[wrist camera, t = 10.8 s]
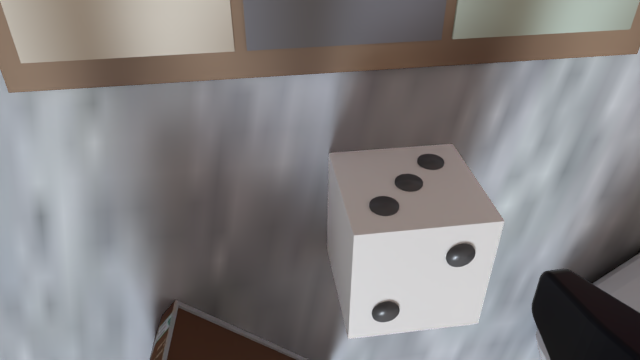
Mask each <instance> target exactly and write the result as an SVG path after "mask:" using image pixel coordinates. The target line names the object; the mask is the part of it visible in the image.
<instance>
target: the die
mask: <svg viewBox="0 0 640 360" xmlns="http://www.w3.org/2000/svg"><path fill="white" fill-rule="evenodd" d="M503 225H504V220H503V218H502V217H501V215H500V214H499V212H498V211H497V209H496V208H495V206H494V205H493V203H492V202H491V200H490V199H489V197H488V196H487V194H486V193H485V191H484V190H483V188H482V187H481V185H480V184H479V182H478V181H477V179H476V178H475V176H474V175H473V173H472V172H471V170H470V169H469V168H468V166H467V165H466V163H465V162H464V160H463V159H462V157H461V156H460V154H459V153H458V151H457V150H456V148H455V147H454V145H453V144H441V145H427V146H414V147H400V148H387V149H373V150H360V151H346V152H333V153H329V160H328V215H327V252H328V256H329V260H330V264H331V269H332V273H333V277H334V281H335V285H336V290H337V294H338V298H339V302H340V307H341V311H342V315H343V319H344V324H345V328H346V332H347V336H348V339H353V338H362V337H370V336H379V335H387V334H396V333H404V332H412V331H421V330H429V329H438V328H446V327H454V326H463V325H471V324H478V322H479V318H480V314H481V310H482V306H483V303H484V299H485V295H486V291H487V287H488V283H489V279H490V276H491V272H492V268H493V264H494V260H495V256H496V252H497V248H498V245H499V241H500V237H501V233H502V229H503Z"/></svg>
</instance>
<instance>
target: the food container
mask: <svg viewBox="0 0 640 360" xmlns="http://www.w3.org/2000/svg"><path fill="white" fill-rule="evenodd" d="M150 360H309V359H307V358H305V357H302V356H300V355H298V354H296V353H293V352H291V351H289V350H287V349H285V348H282V347H280V346H278V345H276V344H273V343H271V342H269V341H267V340H264V339H262V338H260V337H258V336H256V335H253V334H251V333H249V332H247V331H244V330H242V329H240V328H238V327H236V326H233V325H231V324H229V323H227V322H224V321H222V320H220V319H218V318H215V317H213V316H211V315H209V314H207V313H204V312H202V311H200V310H198V309H195V308H193V307H191V306H189V305H187V304H184V303H182V302H180V301H178V300H174V301H173V303H172V304H171V305H170V306H169V308H168V309H167V310H166V311H165V312H164V314H163V315H162V318H161V321H160V324H159V327H158V330H157V333H156V336H155V340H154V344H153V348H152V352H151V356H150Z"/></svg>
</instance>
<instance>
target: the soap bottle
mask: <svg viewBox="0 0 640 360" xmlns="http://www.w3.org/2000/svg"><path fill="white" fill-rule="evenodd" d="M593 284H594V285H595V286H597V287H598V288H600V289H602V290H603V291H605V292H607V293H608V294H610V295H612V296H613V297H615V298H616V299H618V300H620V301H621V302H623V303H625V304H626V305H628V306H630V307H631V308H633V309H635V310H636V311H638V312H639V313H640V253H639V254H637V255H636V256H634V257H633V258H631V259H629V260H628V261H626V262H625V263H623V264H622V265H620V266H619V267H617V268H616V269H614V270H613V271H611V272H609V273H608V274H606V275H605V276H603V277H602V278H600V279H599V280H597V281H596V282H594V283H593ZM536 338H537V345H538V349H539V353H540V357H541V360H550V357H549V355H548V352H547V350H546V347H545V345H544V342H543V340H542V337H541V335H540V333H539V330H538V328H537V332H536Z"/></svg>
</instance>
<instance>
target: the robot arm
mask: <svg viewBox="0 0 640 360" xmlns="http://www.w3.org/2000/svg"><path fill="white" fill-rule="evenodd" d="M532 314H533V317H534V320H535V323H536V325H537V328H538V330H539V333H540V335H541V337H542V340H543V342H544V345H545V347H546V350H547V352H548V355H549V357H550V360H640V313H639V312H638V311H636V310H635V309H633V308H631V307H630V306H628V305H626V304H625V303H623V302H621V301H620V300H618V299H616V298H615V297H613V296H612V295H610V294H608V293H607V292H605V291H603V290H602V289H600V288H598V287H597V286H595V285H594V284H592V283H590V282H589V281H587V280H585V279H584V278H582V277H580V276H579V275H577V274H575V273H574V272H572V271H570V270H568V269H557V270H550V271H545V272H544V273H543V274H542V275H541V276H540V279H539V282H538V285H537V289H536V292H535V295H534V298H533V302H532Z"/></svg>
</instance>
